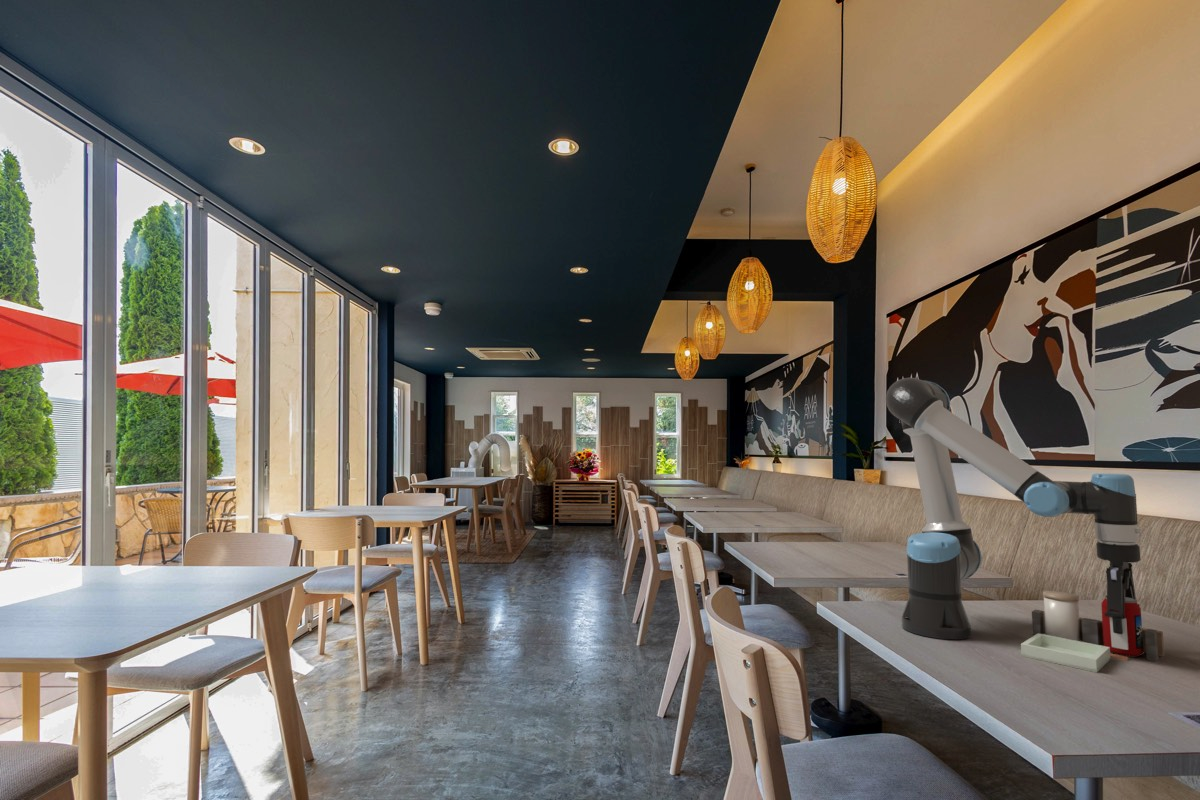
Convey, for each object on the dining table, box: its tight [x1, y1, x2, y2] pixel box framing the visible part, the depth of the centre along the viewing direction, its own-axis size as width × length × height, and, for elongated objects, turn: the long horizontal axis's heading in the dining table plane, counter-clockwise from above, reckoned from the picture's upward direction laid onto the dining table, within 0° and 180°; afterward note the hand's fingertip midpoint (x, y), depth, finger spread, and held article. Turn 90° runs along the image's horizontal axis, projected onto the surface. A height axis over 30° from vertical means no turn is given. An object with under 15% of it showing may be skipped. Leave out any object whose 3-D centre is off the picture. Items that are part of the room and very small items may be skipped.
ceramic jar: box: [1042, 590, 1082, 642], centre depth 145 cm, size 7×7×11 cm
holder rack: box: [1031, 609, 1165, 662], centre depth 140 cm, size 23×12×6 cm, turn 41°
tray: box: [1020, 633, 1112, 673], centre depth 133 cm, size 13×13×2 cm
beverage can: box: [1101, 595, 1144, 658], centre depth 136 cm, size 7×7×12 cm
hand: (1124, 642), depth 137 cm, fingers open, 10 cm apart
